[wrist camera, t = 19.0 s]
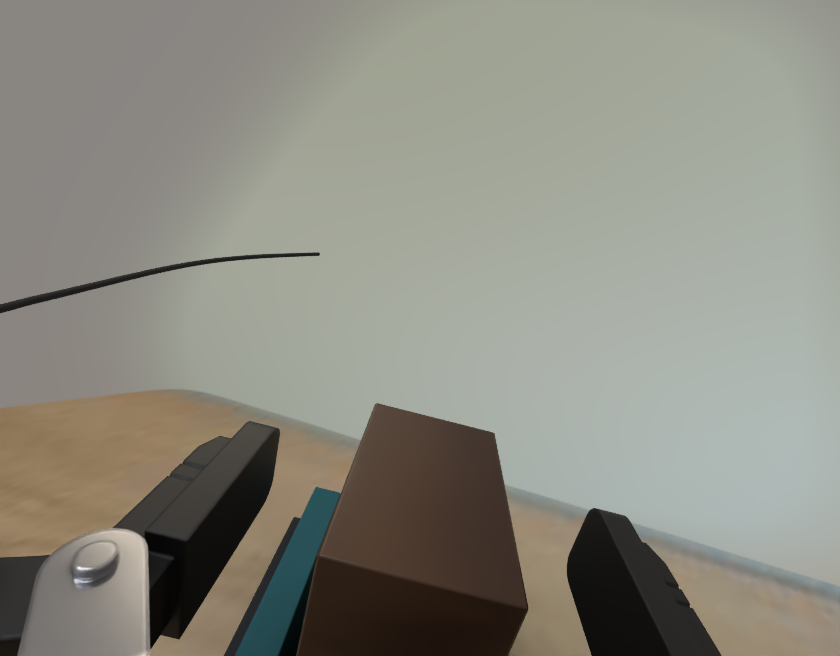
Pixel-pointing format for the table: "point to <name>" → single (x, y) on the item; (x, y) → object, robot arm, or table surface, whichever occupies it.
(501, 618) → the walnut block
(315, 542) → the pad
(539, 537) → the table surface
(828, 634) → the table surface
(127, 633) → the robot arm
